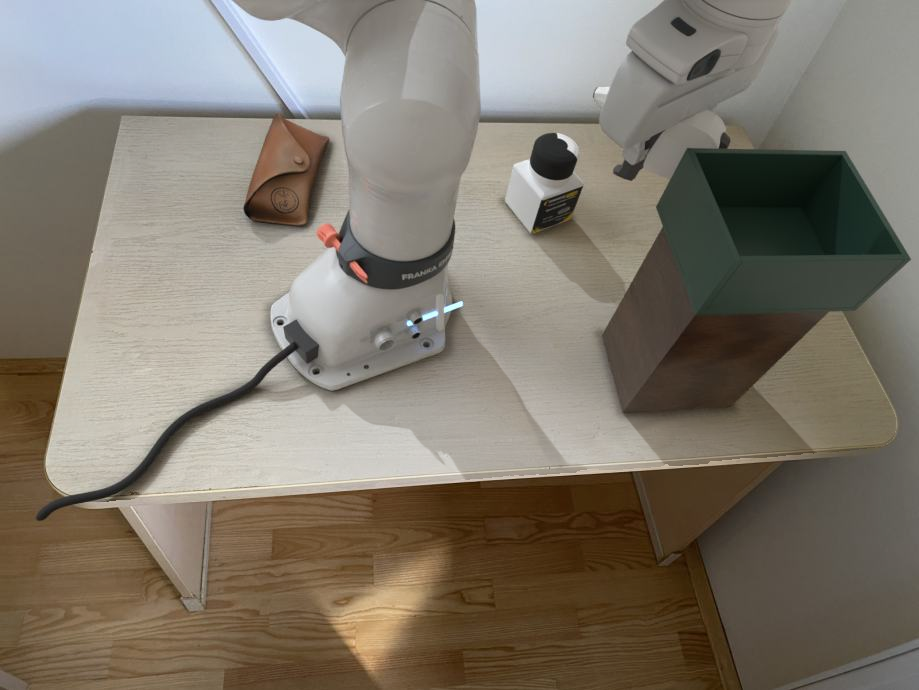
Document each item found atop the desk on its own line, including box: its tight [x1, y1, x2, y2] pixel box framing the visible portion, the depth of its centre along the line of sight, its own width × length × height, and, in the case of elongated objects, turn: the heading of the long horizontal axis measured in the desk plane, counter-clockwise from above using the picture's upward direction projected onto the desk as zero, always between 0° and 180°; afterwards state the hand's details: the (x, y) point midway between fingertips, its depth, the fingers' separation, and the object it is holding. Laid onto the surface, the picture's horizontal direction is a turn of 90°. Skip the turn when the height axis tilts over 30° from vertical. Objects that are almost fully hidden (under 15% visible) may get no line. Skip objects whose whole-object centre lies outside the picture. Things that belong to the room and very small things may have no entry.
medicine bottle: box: [504, 132, 585, 235], centre depth 90 cm, size 7×7×12 cm
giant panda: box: [592, 86, 732, 182], centre depth 68 cm, size 15×6×10 cm, turn 64°
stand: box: [601, 226, 829, 414], centre depth 73 cm, size 14×11×22 cm
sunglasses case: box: [242, 113, 330, 227], centre depth 91 cm, size 18×7×7 cm
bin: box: [655, 148, 912, 315], centre depth 61 cm, size 16×13×8 cm
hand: (658, 145), depth 69 cm, fingers closed on giant panda, 7 cm apart
